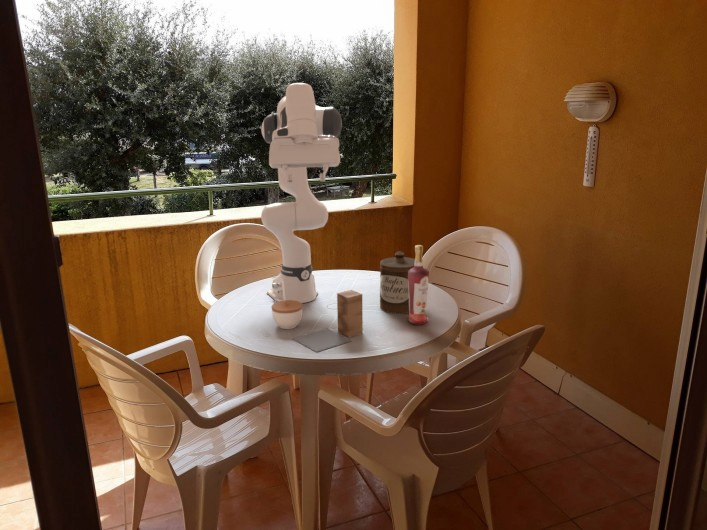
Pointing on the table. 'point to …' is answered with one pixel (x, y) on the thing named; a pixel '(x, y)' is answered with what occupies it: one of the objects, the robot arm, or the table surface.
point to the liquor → (418, 289)
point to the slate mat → (321, 340)
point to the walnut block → (349, 313)
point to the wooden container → (395, 283)
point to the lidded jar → (287, 313)
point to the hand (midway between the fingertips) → (306, 180)
